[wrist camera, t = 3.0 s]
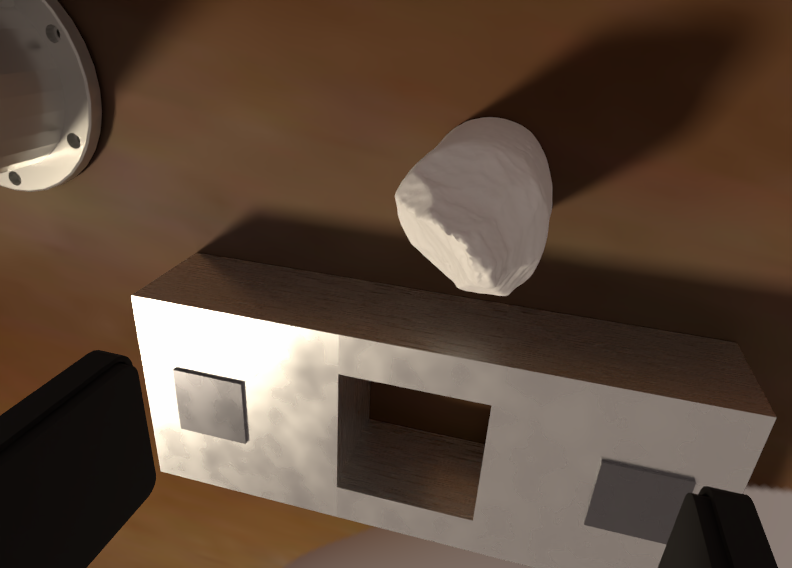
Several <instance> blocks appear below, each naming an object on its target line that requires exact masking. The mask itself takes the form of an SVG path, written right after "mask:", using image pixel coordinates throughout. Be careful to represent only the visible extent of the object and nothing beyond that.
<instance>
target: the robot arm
mask: <svg viewBox="0 0 792 568" xmlns="http://www.w3.org/2000/svg"><path fill="white" fill-rule="evenodd" d="M101 119H102V106H101V95H100V88H99V83H98V79H97V75H96V71H95V67H94V64H93V62H92V59H91V57H90V54H89V52H88V49H87V47H86V44H85V42H84V40H83V38H82V37H81V35H80V33H79V31H78V30H77V28H76V26H75V24H74V22H73V21H72V19H71V18H70V17H69V15H68V14H67V13H66V11H65V10H64V9H63V7H62V6H61V5H60V3H59V2H58V1H57V0H0V186H3V187H6V188H10V189H13V190H18V191H28V192H34V191H41V190H47V189H50V188H53V187H56V186H59V185H62V184H65V183H66V182H68V181H70V180H71V179H73V178H75V177H76V176H77V175H78V174H79V173H80V172H81V171H82V170H83V169H84V168H85V167H86V166H87V165H88V163H89V161H90V159H91V158H92V156H93V154H94V152H95V150H96V147H97V143H98V140H99V136H100V132H101ZM155 481H156V473H155V467H154V461H153V455H152V450H151V444H150V438H149V432H148V427H147V421H146V415H145V410H144V404H143V398H142V392H141V387H140V381H139V375H138V371H137V369H136V368H135V367H134V366H133V365H132V362H131V360H130V359H129V358H128V357H126V356H123V355H118V354H114V353H109V352H105V351H100V350H96V351H92V352H90V353H88V354H87V355H85V356H84V357H83V358H81V359H80V360H78V361H77V362H75V363H74V364H73V365H71V366H70V367H68V368H67V369H66V370H64V371H63V372H61V373H60V374H58V375H57V376H56V377H54V378H53V379H51V380H50V381H49V382H47V383H46V384H44V385H43V386H42V387H40V388H39V389H37V390H36V391H34V392H33V393H32V394H30V395H29V396H27V397H26V398H25V399H23V400H22V401H20V402H19V403H18V404H16V405H15V406H13V407H12V408H10V409H9V410H8V411H6V412H5V413H3V414H2V415H1V416H0V568H87V566H88V565H89V564H90V563H91V562H92V561H93V560H94V558H95V557H96V556H97V555H98V554H99V553H100V552H101V550H102V549H103V548H104V547H105V546H106V545H107V543H108V542H109V541H110V540H111V539H112V538H113V537H114V535H115V534H116V533H117V532H118V531H119V530H120V529H121V527H122V526H123V525H124V524H125V523H126V522H127V521H128V519H129V518H130V517H131V516H132V515H133V514H134V512H135V511H136V510H137V509H138V508H139V507H140V506H141V504H142V503H143V502H144V501H145V500H146V499H147V498H148V496H149V495H150V494H151V492H152V490H153V488H154V485H155ZM658 568H778V567H777V564H776V561H775V559H774V556H773V553H772V551H771V548H770V545H769V543H768V540H767V537H766V535H765V532H764V530H763V527H762V524H761V521H760V519H759V516H758V513H757V511H756V508H755V506H754V503H753V501H752V500H751V498H750V497H749V496H748V495H744V494H740V493H736V492H731V491H727V490H722V489H718V488H713V487H709V486H704V487H703V488H702V489H701V490H700V492H699V494H694V493H687V494H686V496H685V498H684V500H683V503H682V505H681V508H680V511H679V513H678V516H677V519H676V521H675V524H674V526H673V529H672V532H671V534H670V537H669V539H668V542H667V545H666V547H665V550H664V552H663V555H662V558H661V560H660V563H659V565H658Z"/></svg>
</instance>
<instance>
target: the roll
mask: <svg viewBox="0 0 792 568" xmlns="http://www.w3.org/2000/svg"><path fill="white" fill-rule="evenodd" d="M552 188H553V187H552V180H551V176H550V171H549V166H548V162H547V159H546V156H545V154H544V151H543V150H542V148H541V146H540V144H539V142H538V141H537V139H536V138H535V136H534V135H533V134H532V132H530V131H529V130H528V129H526V128H525V127H524V126H522V125H520V124H518V123H515V122H513V121H510V120H507V119H503V118H497V117H483V118H478V119H473V120H470V121H466V122H464V123H463V124H461V125H459V126H457V127H455V128H454V129H453V130H452V131H450V132H449V133H448V134H447V135H446V136H445V138H444V139H443V140H442V141H441V142H440V143H439V144H438V145H437V147H436V148H435V149H433V150H432V151H430V152H429V153H428V154H427V155H426V156H425V157H423V158H422V159H421V160H420V161H419V162H418V163H417V164H416V165H415V166H414V167H413V168H412V169H411V170H410V171H409V173H408V174H407V176H406V177H405V178H404V179H403V181H402V182H401V184H400V186H399V188H398V189H397V191H396V193H395V200H396V203H397V210H398V217H399V220H400V223H401V226H402V227H403V230H404V232H405V233H406V235H407V237H408V239H409V241H410V243H411V244H412V245H413V246H414V247H415V248H416V249H418V250H419V251H420V252H421V253H422V254H423V255H424V256H425V257H426V258H427V259H429V260H430V261H431V263H432V264H433V265H435V266H436V267H437V268H438V269H439V270H440V271H442V272H443V273H444V274H445V275H446V276H447V277H448V278H450V279H451V280H452V281H453V282H454V283H455V285H456V287H457V288H459V289H461V290H464V291H469V292H475V293H482V294H492V295H497V296H507V295H509V294H510V293H511V292H512V291H513V290H514V289H515V288H517V287H518V286H520V285H521V284H523V283H524V282H525V281H526V280H527V279H528V278H530V276H531V275H532V274H533V273H534V271H535V269H536V267H537V265H538V263H539V261H540V259H541V256H542V254H543V251H544V248H545V244H546V240H547V234H548V228H549V218H550V215H551V212H552Z"/></svg>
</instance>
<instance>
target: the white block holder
mask: <svg viewBox="0 0 792 568" xmlns="http://www.w3.org/2000/svg"><path fill="white" fill-rule="evenodd" d="M131 298H132V304H133V310H134V316H135V322H136V328H137V334H138V340H139V346H140V351H141V357H142V363H143V369H144V375H145V381H146V387H147V393H148V399H149V404H150V410H151V416H152V422H153V428H154V434H155V440H156V446H157V452H158V458H159V463H160V469H161V471H162V472H166V473H170V474H173V475H177V476H181V477H185V478H189V479H193V480H197V481H201V482H204V483H208V484H212V485H216V486H220V487H224V488H228V489H232V490H235V491H239V492H243V493H247V494H251V495H255V496H259V497H263V498H266V499H270V500H274V501H278V502H282V503H286V504H290V505H294V506H297V507H301V508H305V509H309V510H313V511H317V512H321V513H325V514H328V515H332V516H336V517H340V518H344V519H348V520H352V521H356V522H359V523H363V524H367V525H371V526H375V527H379V528H383V529H387V530H390V531H394V532H398V533H402V534H406V535H410V536H414V537H418V538H421V539H426V540H429V541H433V542H437V543H441V544H445V545H449V546H452V547H456V548H460V549H464V550H468V551H472V552H476V553H480V554H483V555H487V556H491V557H495V558H499V559H503V560H507V561H511V562H514V563H518V564H522V565H526V566H530V567H534V568H658V565H659V563H660V560H661V558H662V555H663V552H664V550H665V547H666V545H667V542H668V539H669V537H670V534H671V532H672V529H673V526H674V524H675V521H676V519H677V516H678V513H679V511H680V508H681V505H682V503H683V500H684V498H685V496H686V494H687V493H694V494H699V492H700V490H701V489H702V488H703V487H704V486H709V487H713V488H718V489H722V490H727V491H731V492H736V493H740V494H743V493H744V490H745V488H746V486H747V483H748V481H749V479H750V477H751V474H752V472H753V470H754V468H755V465H756V463H757V461H758V459H759V456H760V454H761V452H762V450H763V447H764V445H765V443H766V441H767V438H768V436H769V434H770V432H771V429H772V427H773V425H774V423H775V420H776V418H777V417H776V415H775V414H774V412H773V410H772V408H771V406H770V404H769V402H768V400H767V398H766V397H765V395H764V393H763V391H762V389H761V387H760V385H759V383H758V381H757V380H756V378H755V376H754V374H753V372H752V370H751V368H750V366H749V365H748V363H747V361H746V359H745V357H744V355H743V353H742V351H741V349H740V348H739V346H738V344H737V343H736V342H730V341H724V340H718V339H712V338H706V337H700V336H694V335H688V334H682V333H676V332H670V331H664V330H658V329H652V328H646V327H640V326H634V325H628V324H622V323H616V322H610V321H604V320H598V319H592V318H586V317H580V316H574V315H568V314H562V313H556V312H550V311H544V310H538V309H532V308H526V307H520V306H514V305H508V304H502V303H496V302H490V301H484V300H478V299H472V298H466V297H460V296H454V295H449V294H443V293H437V292H431V291H425V290H419V289H413V288H407V287H401V286H395V285H389V284H383V283H377V282H371V281H365V280H359V279H353V278H347V277H341V276H335V275H329V274H323V273H317V272H311V271H305V270H299V269H293V268H287V267H281V266H275V265H269V264H263V263H257V262H251V261H245V260H239V259H233V258H227V257H221V256H215V255H209V254H203V253H197V252H196V253H195V254H193V255H192V256H190V257H189V258H187V259H186V260H184V261H183V262H181V263H180V264H178V265H177V266H175V267H174V268H172V269H171V270H169V271H168V272H166V273H165V274H163V275H161V276H160V277H158V278H157V279H155V280H154V281H152V282H151V283H149V284H148V285H146V286H145V287H143V288H142V289H140V290H139V291H137V292H136V293H134V294H133V295H131ZM371 381H374V382H379V383H384V384H389V385H394V386H399V387H404V388H408V389H413V390H418V391H423V392H428V393H433V394H438V395H443V396H448V397H453V398H457V399H462V400H467V401H472V402H477V403H482V404H487V405H492V406H491V412H490V418H489V424H488V431H487V437H486V443H485V444H482V443H477V442H472V441H468V440H463V439H459V438H454V437H450V436H445V435H440V434H436V433H431V432H427V431H422V430H417V429H413V428H408V427H404V426H399V425H395V424H390V423H385V422H381V421H376V420H372V419H369V410H370V387H371Z"/></svg>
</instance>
